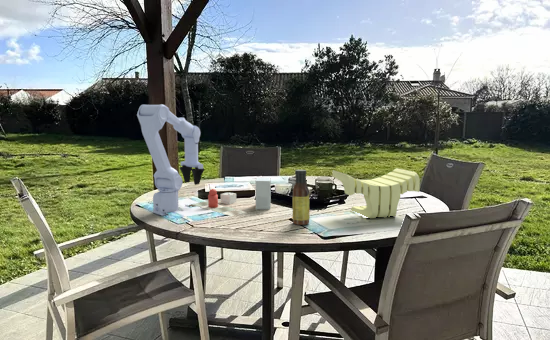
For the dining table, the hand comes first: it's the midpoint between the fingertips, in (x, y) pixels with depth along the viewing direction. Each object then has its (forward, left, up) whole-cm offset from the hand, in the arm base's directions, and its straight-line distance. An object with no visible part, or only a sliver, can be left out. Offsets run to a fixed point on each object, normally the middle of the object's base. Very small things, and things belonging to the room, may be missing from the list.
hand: (192, 183), depth 164 cm
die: (+11, -12, -10) cm, 19 cm away
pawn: (+1, -14, -8) cm, 16 cm away
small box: (+16, -29, -10) cm, 34 cm away
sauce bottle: (+11, -54, -10) cm, 56 cm away
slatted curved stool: (+42, -67, -10) cm, 79 cm away
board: (+1, -18, -9) cm, 20 cm away
